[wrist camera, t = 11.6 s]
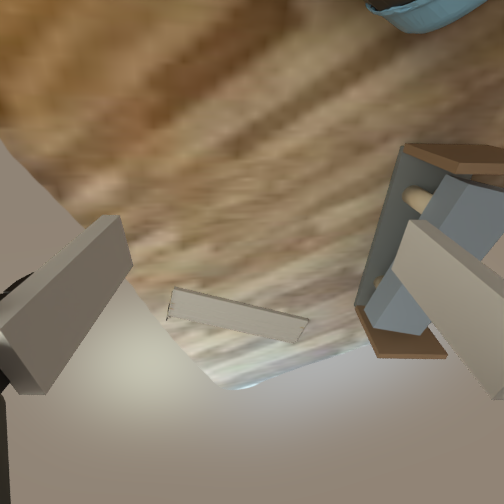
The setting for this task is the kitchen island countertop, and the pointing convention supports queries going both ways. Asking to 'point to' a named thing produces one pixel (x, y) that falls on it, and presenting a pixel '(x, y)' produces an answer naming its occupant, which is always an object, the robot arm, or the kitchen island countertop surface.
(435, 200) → the shelf board
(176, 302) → the baseboard
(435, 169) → the peg shelf
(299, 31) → the kitchen island countertop surface
